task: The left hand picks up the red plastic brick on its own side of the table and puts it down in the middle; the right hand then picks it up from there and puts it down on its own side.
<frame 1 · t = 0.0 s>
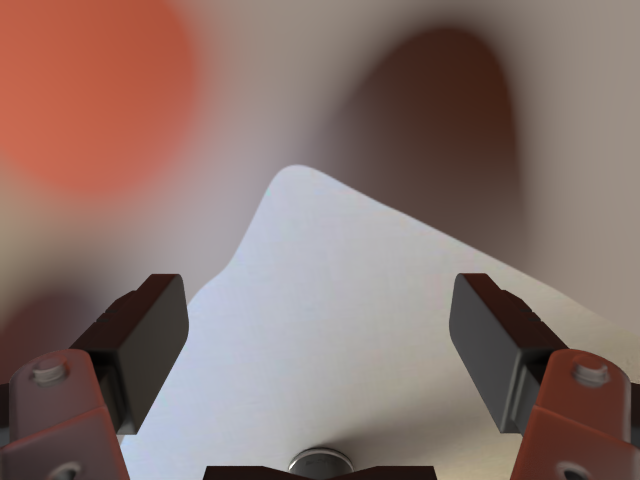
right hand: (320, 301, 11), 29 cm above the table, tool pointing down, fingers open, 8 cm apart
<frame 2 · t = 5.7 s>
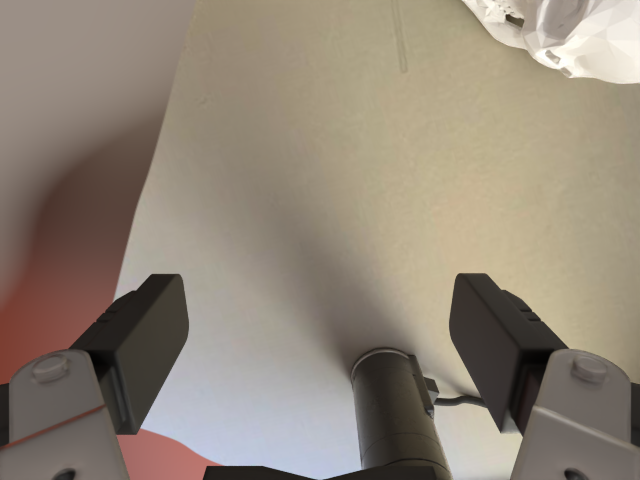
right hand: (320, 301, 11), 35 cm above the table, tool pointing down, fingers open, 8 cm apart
skull: (556, 3, 38), on the table
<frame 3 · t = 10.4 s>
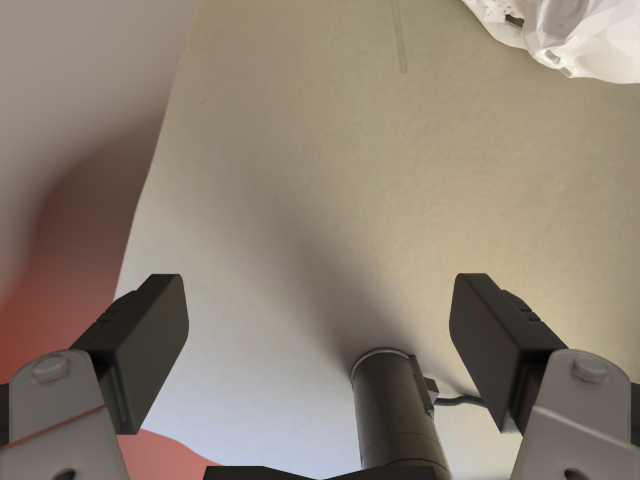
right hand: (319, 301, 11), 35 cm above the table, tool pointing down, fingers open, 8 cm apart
skull: (556, 3, 38), on the table
when the left hand's fingers open (1 cm above the table, at t = 15.1 s): brick stays where it is, on the table.
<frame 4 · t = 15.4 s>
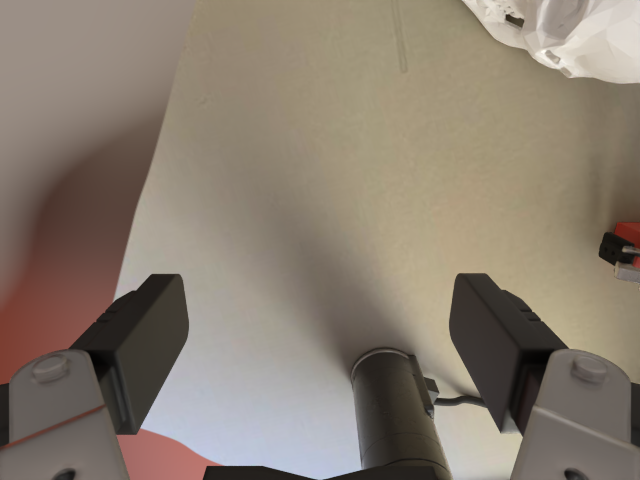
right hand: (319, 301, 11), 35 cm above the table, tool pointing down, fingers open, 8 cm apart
skull: (556, 3, 38), on the table
brick: (629, 238, 48), on the table
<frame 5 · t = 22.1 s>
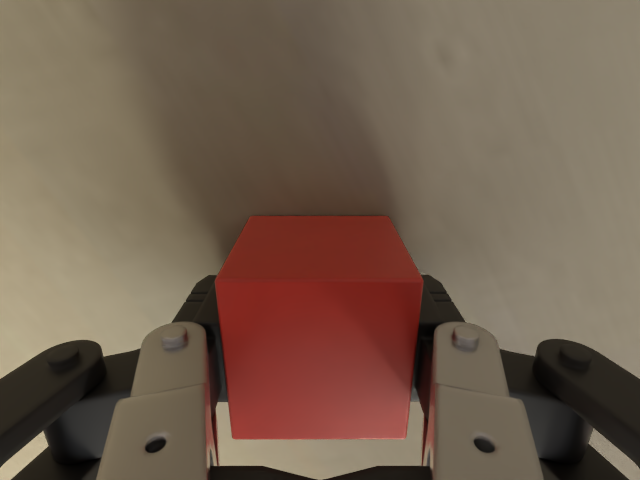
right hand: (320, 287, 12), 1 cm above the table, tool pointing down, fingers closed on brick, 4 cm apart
brick: (319, 279, 13), on the table, touching right hand
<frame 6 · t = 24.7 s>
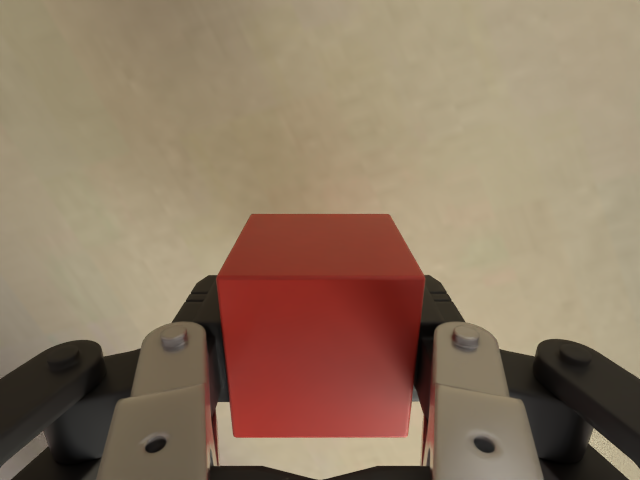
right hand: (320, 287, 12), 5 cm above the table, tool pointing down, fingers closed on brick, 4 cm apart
brick: (320, 277, 13), point 5 cm above the table, touching right hand
when the right hand's fingers open (1 cm above the table, at t = 27.5 s): brick stays where it is, on the table.
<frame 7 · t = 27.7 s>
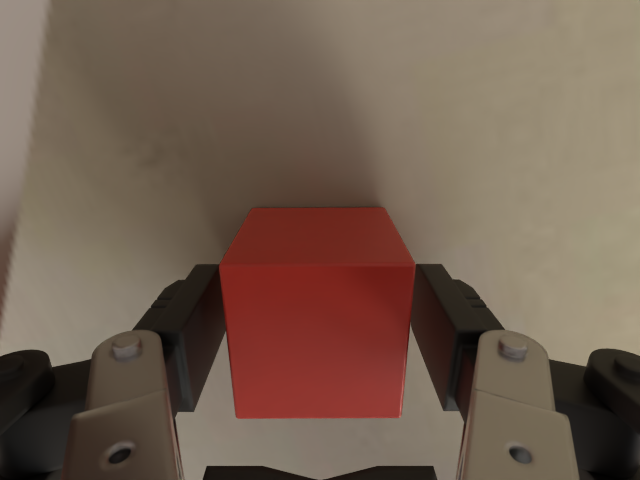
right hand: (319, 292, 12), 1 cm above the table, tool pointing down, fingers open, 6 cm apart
brick: (318, 269, 13), on the table
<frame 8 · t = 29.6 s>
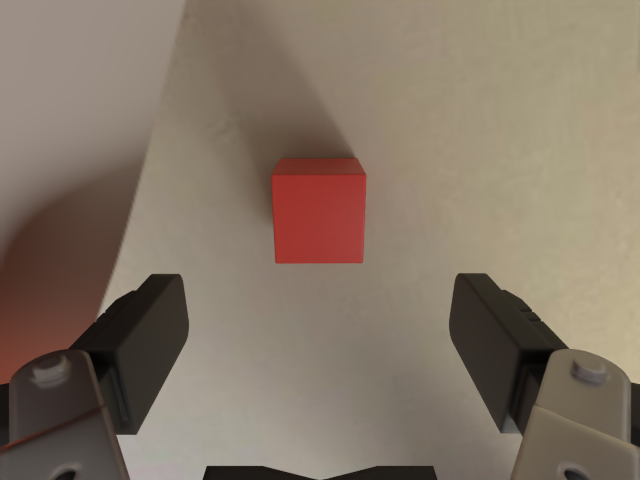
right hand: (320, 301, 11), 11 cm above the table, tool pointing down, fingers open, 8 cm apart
brick: (319, 197, 22), on the table
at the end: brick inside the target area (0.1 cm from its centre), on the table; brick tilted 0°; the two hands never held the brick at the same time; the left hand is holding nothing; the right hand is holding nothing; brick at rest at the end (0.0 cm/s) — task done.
